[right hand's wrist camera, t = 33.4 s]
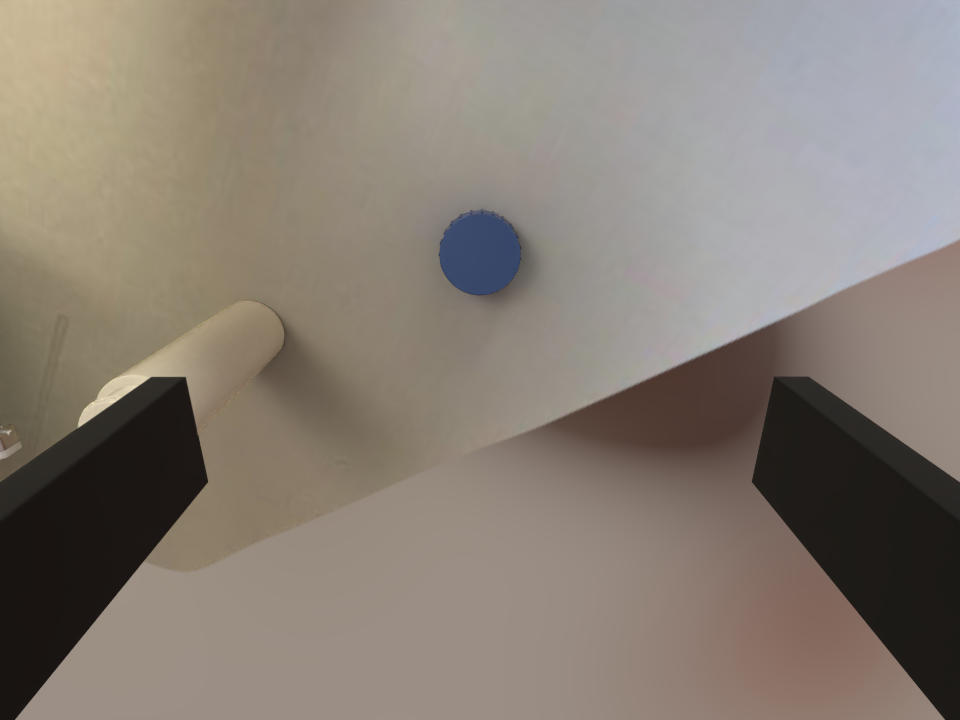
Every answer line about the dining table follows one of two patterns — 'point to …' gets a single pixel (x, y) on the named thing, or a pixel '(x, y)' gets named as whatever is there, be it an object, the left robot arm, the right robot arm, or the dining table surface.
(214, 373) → the jar
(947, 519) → the right robot arm
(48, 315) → the dining table surface
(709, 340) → the dining table surface
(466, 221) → the lid
